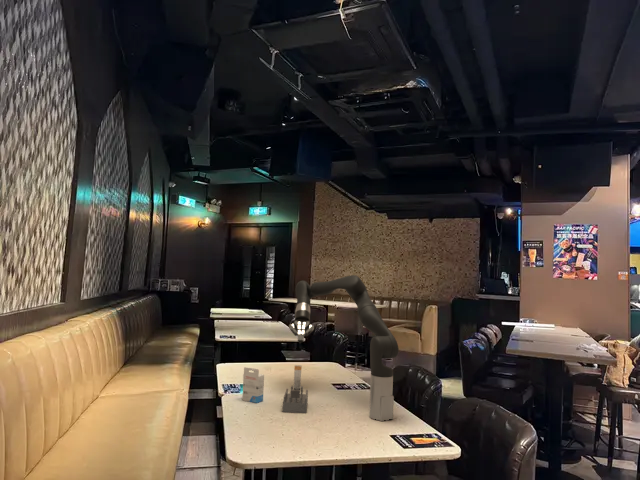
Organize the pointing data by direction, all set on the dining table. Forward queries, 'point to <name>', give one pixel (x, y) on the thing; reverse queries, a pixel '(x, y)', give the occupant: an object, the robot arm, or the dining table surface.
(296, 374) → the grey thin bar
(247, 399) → the ink box
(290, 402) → the heat sink
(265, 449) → the dining table surface
